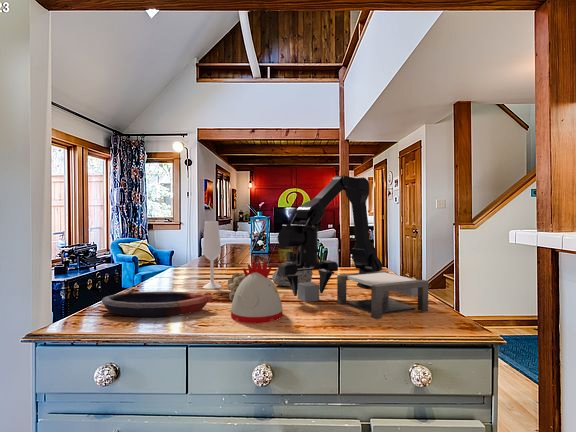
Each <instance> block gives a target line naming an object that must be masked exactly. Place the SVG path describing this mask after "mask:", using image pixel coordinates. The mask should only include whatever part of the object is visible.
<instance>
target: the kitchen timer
mask: <svg viewBox="0 0 576 432" xmlns="http://www.w3.org/2000/svg"><path fill="white" fill-rule="evenodd" d="M267 263H268V262H267V261H264V263H263V266H262V263H261V260H258V261H257V263H256V260H255V259H254V260H252V264H247V269H248V271H247V269H246V268H245V267H244V268H242V270H243V274H245V276H246V277H245V278H244V279H243V280H242V282H241V283H240V284H239V286H238V288H237V290H236V292H235V295H234V298H233V301H231V302H232V303H231V307H230V317H231V319H232V320H233V321H235V322H238V323H244V324H264V323H271V322H275V320H276V321H278V320H280V319H281V318H282V317H283V304H282V300H281V297H280V293H279V290H278V289H277V286H276V284H274V282H273V280H272V279H271V278H269V276H270V273H271V270H272V266H270V267H268V266H267V265H268V264H267ZM251 265H252V266H251ZM279 318H280V319H279ZM277 319H278V320H277Z"/></svg>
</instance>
